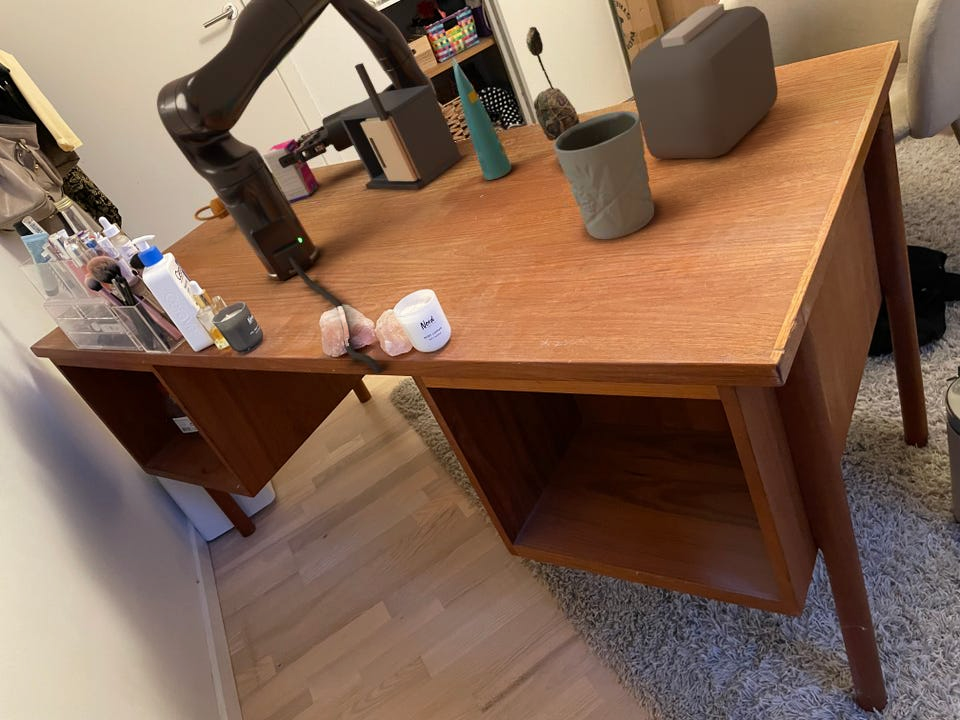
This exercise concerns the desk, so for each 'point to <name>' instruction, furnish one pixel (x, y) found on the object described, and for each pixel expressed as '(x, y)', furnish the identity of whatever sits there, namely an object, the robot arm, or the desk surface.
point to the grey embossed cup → (608, 173)
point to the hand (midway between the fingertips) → (282, 158)
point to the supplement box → (291, 172)
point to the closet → (405, 136)
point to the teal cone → (481, 130)
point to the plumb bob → (217, 208)
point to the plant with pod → (550, 99)
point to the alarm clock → (704, 82)
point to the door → (384, 137)
